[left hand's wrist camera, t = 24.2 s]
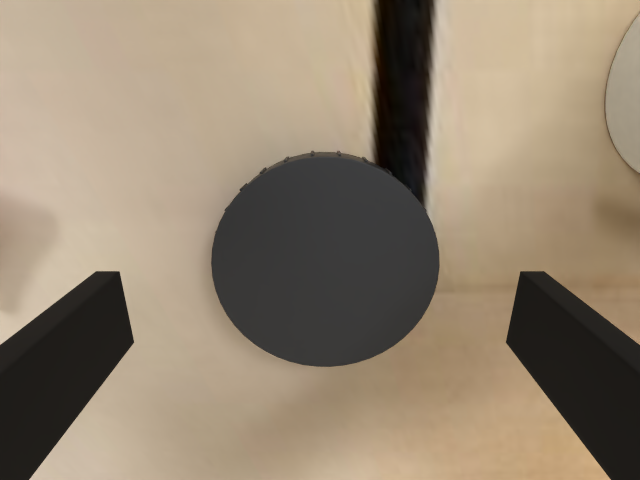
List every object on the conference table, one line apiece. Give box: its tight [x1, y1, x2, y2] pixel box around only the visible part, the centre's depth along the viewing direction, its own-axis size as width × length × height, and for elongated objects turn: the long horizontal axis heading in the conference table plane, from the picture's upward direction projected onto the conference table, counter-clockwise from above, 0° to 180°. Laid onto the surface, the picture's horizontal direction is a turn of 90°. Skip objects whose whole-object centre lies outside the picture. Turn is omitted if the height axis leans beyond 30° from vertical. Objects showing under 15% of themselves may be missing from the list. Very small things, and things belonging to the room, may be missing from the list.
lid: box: [211, 151, 439, 367], centre depth 18 cm, size 10×10×2 cm
